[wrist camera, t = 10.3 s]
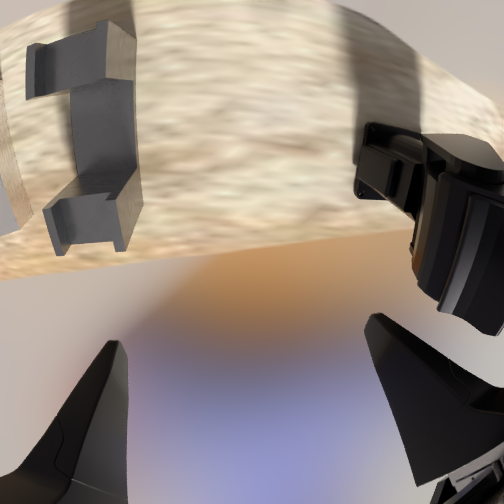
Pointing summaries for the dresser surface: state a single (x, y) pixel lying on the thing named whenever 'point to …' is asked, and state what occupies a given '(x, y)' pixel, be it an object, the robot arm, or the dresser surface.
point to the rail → (10, 180)
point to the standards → (93, 134)
